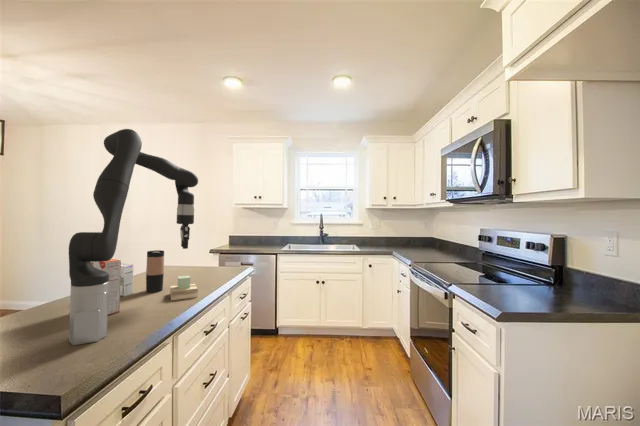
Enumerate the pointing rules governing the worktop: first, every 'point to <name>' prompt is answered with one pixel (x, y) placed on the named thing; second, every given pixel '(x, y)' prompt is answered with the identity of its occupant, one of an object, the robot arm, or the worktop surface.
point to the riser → (183, 292)
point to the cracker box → (111, 282)
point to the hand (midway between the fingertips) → (184, 247)
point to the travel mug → (154, 271)
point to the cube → (183, 282)
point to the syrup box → (126, 279)
